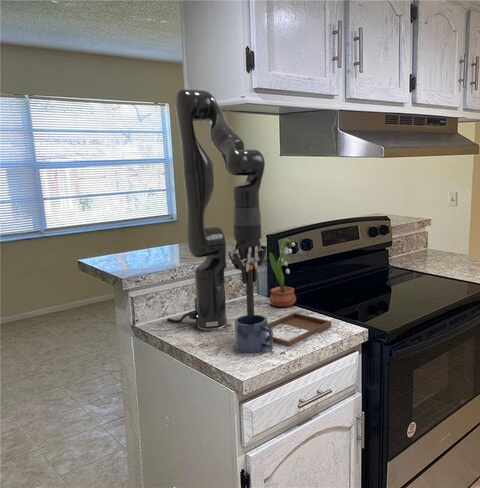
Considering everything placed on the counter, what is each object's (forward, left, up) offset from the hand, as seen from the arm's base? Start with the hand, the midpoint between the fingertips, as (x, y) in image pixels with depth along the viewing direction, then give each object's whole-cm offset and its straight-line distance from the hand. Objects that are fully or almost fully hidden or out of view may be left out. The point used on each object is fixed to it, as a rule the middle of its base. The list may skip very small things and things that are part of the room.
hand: (249, 282), depth 140 cm
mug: (+2, 0, -20) cm, 20 cm away
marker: (0, 0, -10) cm, 10 cm away
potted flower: (-20, +38, -20) cm, 48 cm away
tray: (+1, +17, -20) cm, 26 cm away
